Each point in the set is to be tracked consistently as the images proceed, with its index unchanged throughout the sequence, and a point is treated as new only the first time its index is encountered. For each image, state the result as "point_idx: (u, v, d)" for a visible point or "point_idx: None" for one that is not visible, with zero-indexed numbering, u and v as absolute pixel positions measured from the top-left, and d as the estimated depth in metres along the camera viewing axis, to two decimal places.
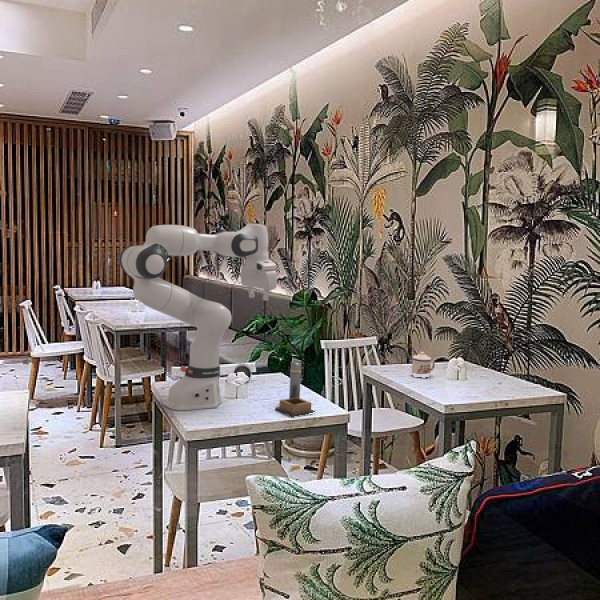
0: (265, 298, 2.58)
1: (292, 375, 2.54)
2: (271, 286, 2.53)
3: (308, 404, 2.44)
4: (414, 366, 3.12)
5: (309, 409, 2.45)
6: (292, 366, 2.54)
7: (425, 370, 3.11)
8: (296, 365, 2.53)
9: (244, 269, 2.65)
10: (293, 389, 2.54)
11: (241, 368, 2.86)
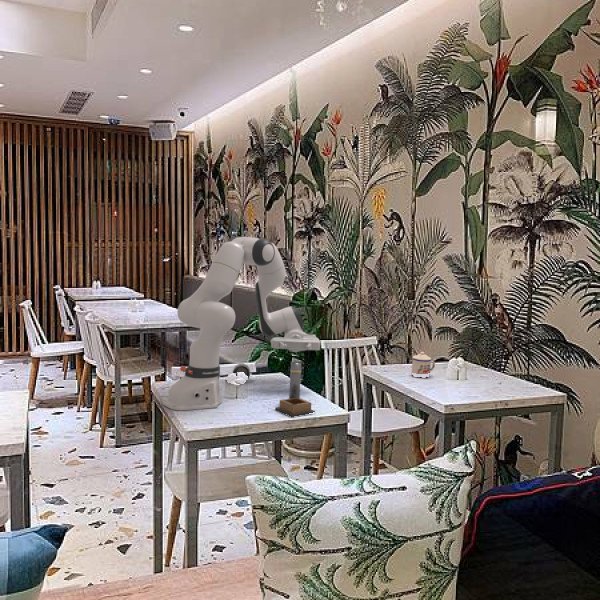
0: None
1: (292, 375, 2.54)
2: None
3: (308, 404, 2.44)
4: (414, 366, 3.12)
5: (309, 409, 2.45)
6: (292, 366, 2.54)
7: (425, 370, 3.11)
8: (296, 365, 2.53)
9: (278, 337, 2.77)
10: (293, 389, 2.54)
11: (240, 368, 2.86)
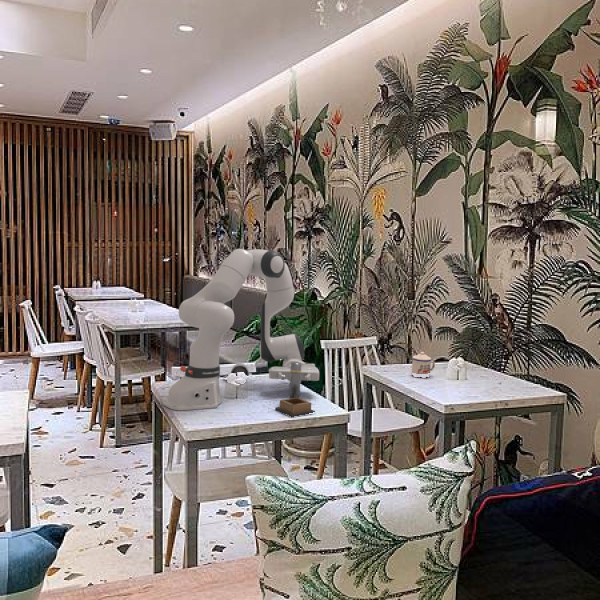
0: None
1: (292, 375, 2.54)
2: None
3: (308, 404, 2.44)
4: (414, 366, 3.12)
5: (309, 409, 2.45)
6: (292, 366, 2.54)
7: (425, 370, 3.11)
8: (296, 365, 2.53)
9: None
10: (293, 389, 2.54)
11: (238, 368, 2.86)
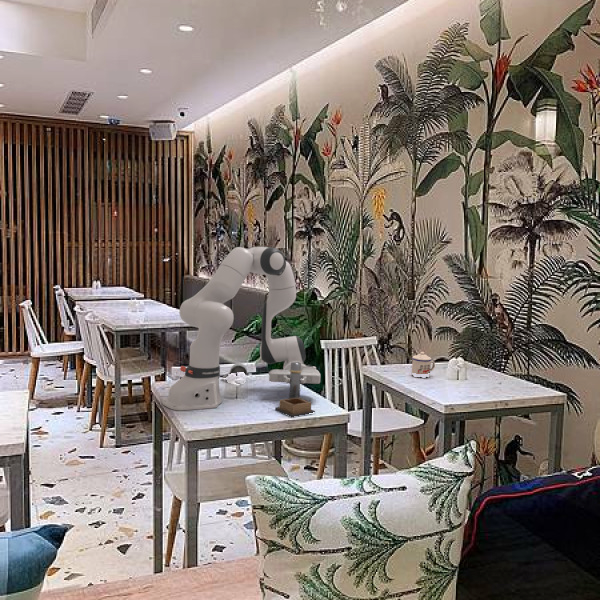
0: (304, 380, 2.56)
1: (292, 375, 2.54)
2: (320, 377, 2.61)
3: (308, 404, 2.44)
4: (414, 366, 3.12)
5: (309, 409, 2.45)
6: (292, 366, 2.54)
7: (425, 370, 3.11)
8: (296, 365, 2.53)
9: (276, 369, 2.66)
10: (293, 389, 2.54)
11: (237, 368, 2.86)
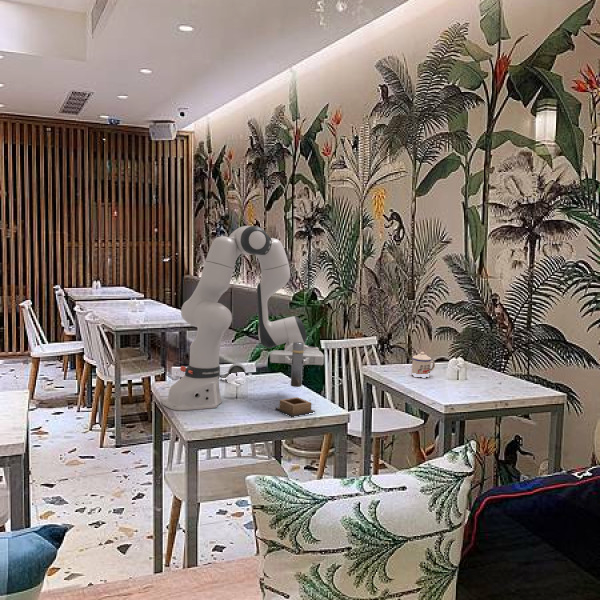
0: (306, 360, 2.44)
1: (294, 355, 2.42)
2: (323, 358, 2.49)
3: (308, 404, 2.44)
4: (414, 366, 3.12)
5: (309, 409, 2.45)
6: (294, 346, 2.42)
7: (425, 370, 3.11)
8: (298, 345, 2.41)
9: (278, 350, 2.54)
10: (295, 370, 2.43)
11: (235, 368, 2.86)
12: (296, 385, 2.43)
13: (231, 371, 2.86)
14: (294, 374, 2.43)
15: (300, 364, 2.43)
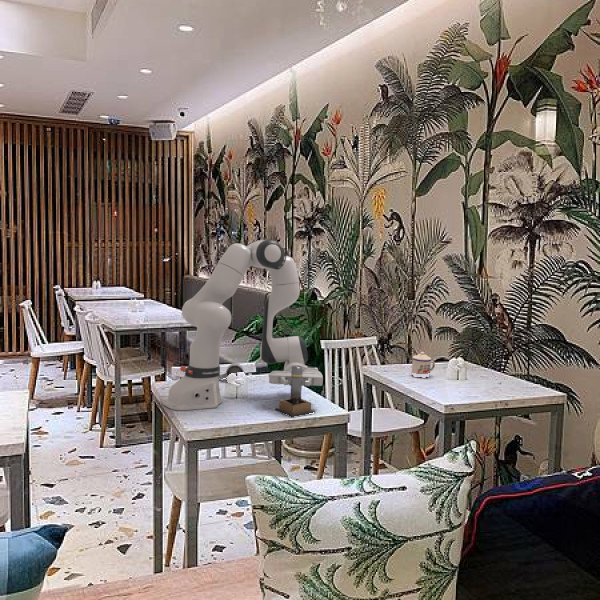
0: (309, 382, 2.45)
1: (293, 379, 2.43)
2: (322, 378, 2.50)
3: (308, 404, 2.44)
4: (414, 366, 3.12)
5: (309, 409, 2.45)
6: (293, 370, 2.43)
7: (425, 370, 3.11)
8: (297, 369, 2.42)
9: None
10: (294, 394, 2.43)
11: (234, 368, 2.86)
12: None
13: (229, 371, 2.86)
14: (293, 398, 2.44)
15: (299, 388, 2.43)
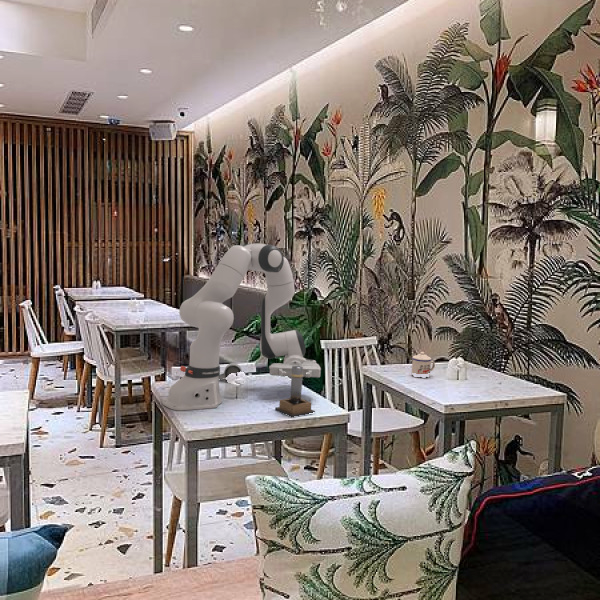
0: (309, 373, 2.58)
1: (293, 379, 2.43)
2: (320, 370, 2.63)
3: (308, 404, 2.44)
4: (414, 366, 3.12)
5: (309, 409, 2.45)
6: (293, 370, 2.43)
7: (425, 370, 3.11)
8: (297, 369, 2.42)
9: (277, 363, 2.67)
10: (294, 394, 2.43)
11: (232, 368, 2.86)
12: None
13: (227, 371, 2.86)
14: (293, 398, 2.44)
15: (299, 388, 2.43)
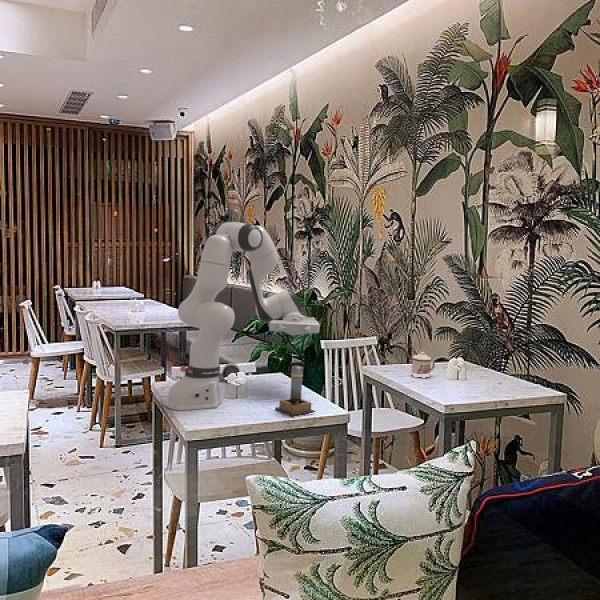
0: (308, 328, 2.60)
1: (293, 379, 2.43)
2: (319, 326, 2.65)
3: (308, 404, 2.44)
4: (414, 366, 3.12)
5: (309, 409, 2.45)
6: (293, 370, 2.43)
7: (425, 370, 3.11)
8: (297, 369, 2.42)
9: (276, 320, 2.70)
10: (294, 393, 2.43)
11: (230, 367, 2.86)
12: None
13: (225, 371, 2.86)
14: (293, 398, 2.44)
15: (299, 388, 2.43)
